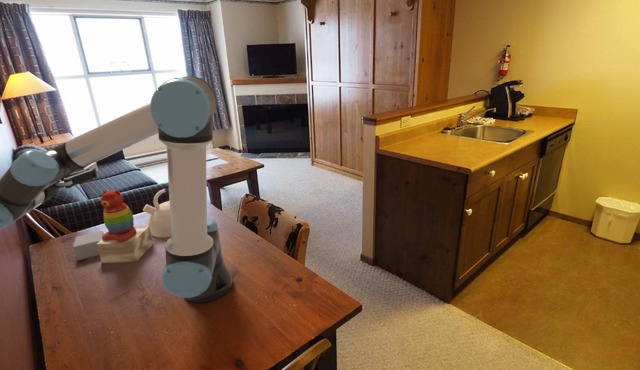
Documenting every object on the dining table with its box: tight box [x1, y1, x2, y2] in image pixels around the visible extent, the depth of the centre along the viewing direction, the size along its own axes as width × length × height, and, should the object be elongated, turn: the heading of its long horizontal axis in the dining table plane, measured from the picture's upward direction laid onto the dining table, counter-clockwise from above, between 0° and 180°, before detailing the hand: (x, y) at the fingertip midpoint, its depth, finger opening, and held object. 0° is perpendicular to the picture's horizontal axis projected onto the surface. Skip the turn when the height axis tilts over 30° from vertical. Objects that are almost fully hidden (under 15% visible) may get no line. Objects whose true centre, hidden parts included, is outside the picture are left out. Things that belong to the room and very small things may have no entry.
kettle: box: [142, 187, 171, 239], centre depth 147 cm, size 20×21×18 cm
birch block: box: [96, 226, 154, 264], centre depth 129 cm, size 13×13×8 cm
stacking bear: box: [100, 189, 136, 242], centre depth 125 cm, size 11×10×18 cm
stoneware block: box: [72, 230, 105, 261], centre depth 132 cm, size 9×9×6 cm
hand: (73, 168), depth 106 cm, fingers open, 13 cm apart
